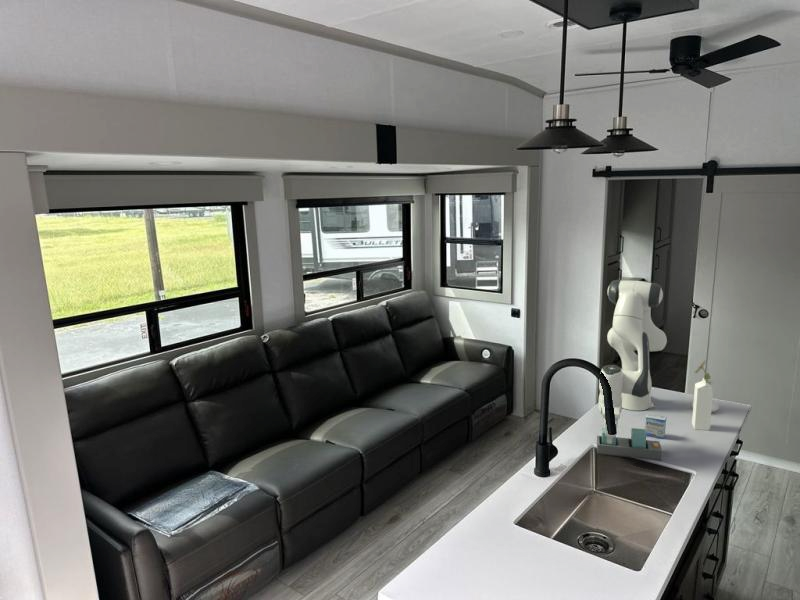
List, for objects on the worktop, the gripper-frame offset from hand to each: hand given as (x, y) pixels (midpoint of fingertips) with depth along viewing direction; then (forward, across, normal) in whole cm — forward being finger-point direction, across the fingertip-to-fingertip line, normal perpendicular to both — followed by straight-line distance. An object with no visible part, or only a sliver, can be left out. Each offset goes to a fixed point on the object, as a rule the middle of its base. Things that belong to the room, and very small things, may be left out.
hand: (608, 437), depth 227 cm
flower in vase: (+6, -51, +45) cm, 68 cm away
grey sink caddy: (+6, 0, +8) cm, 9 cm away
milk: (+6, -31, +40) cm, 51 cm away
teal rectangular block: (+5, 0, 0) cm, 5 cm away
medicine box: (+6, -18, +20) cm, 27 cm away
